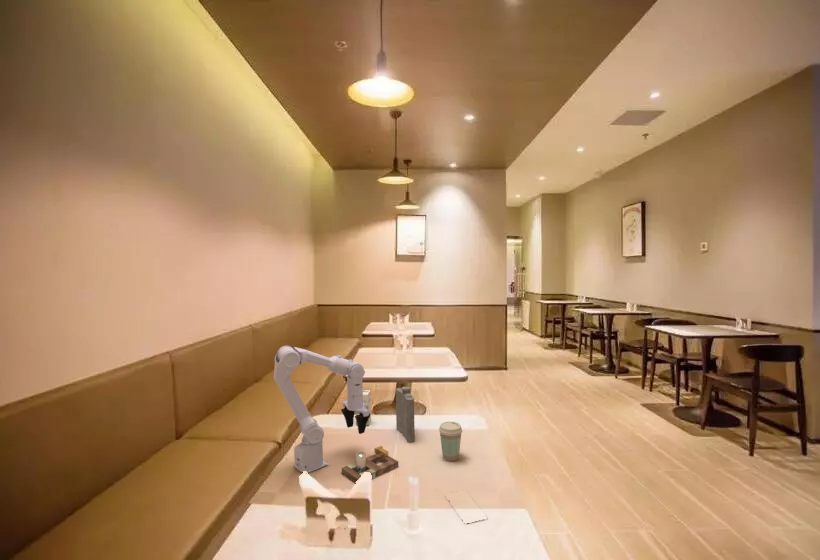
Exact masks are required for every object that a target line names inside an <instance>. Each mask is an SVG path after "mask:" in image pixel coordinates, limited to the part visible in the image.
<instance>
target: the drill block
mask: <svg viewBox="0 0 820 560" xmlns="http://www.w3.org/2000/svg"><path fill="white" fill-rule="evenodd" d="M380 462H381V464H378V463H380ZM397 468H399V461H398V460H397V459H394V458H393V457H392V456H390V455H388V456H387V457H383V456H381V455H379V454H375V453H374V454H372V455H370V456H366V471H364V472H370V473H371V475H372V479H371V480H373V479H376V478H377V477H379V476H382V475H384V474H386V473H388V472H390V471H393V470H394V469H397ZM364 472H362V473H360V474H359V473H357V472H356V461H355V462H352V463H350V464H347V465H345V466H343V467H341V474H342V475H343V476H344V477H346V478H348V479H349V480H350V481H352V482H353V483H355V482H356V481H357V480H358V479H359V478H360V477H361V475H362V474H363V473H364ZM355 484H356V483H355Z"/></svg>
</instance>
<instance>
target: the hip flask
mask: <svg viewBox="0 0 820 560" xmlns="http://www.w3.org/2000/svg"><path fill="white" fill-rule="evenodd" d="M395 407H396V408H395V410H396V411H395V413H396V414H395V415H396V416H395V417H396V418H395V419H396V420H395V421H396V427H395V428H396V431H398V432H399V433H401V435H403V438H404V439H405V440H406V443H409V444H412V443H415V440H416V439H415V430H416V429H415V398H414V396H413V395H412V394H411V386H402V387H397V388H396V389H395Z"/></svg>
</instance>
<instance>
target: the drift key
mask: <svg viewBox="0 0 820 560" xmlns="http://www.w3.org/2000/svg"><path fill="white" fill-rule="evenodd" d="M374 454H379V455H381V456H383V457H387V456H389V451H388V450H387V449H385V448H384V447H383V446H382V445H379V446H377V447H374Z"/></svg>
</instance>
